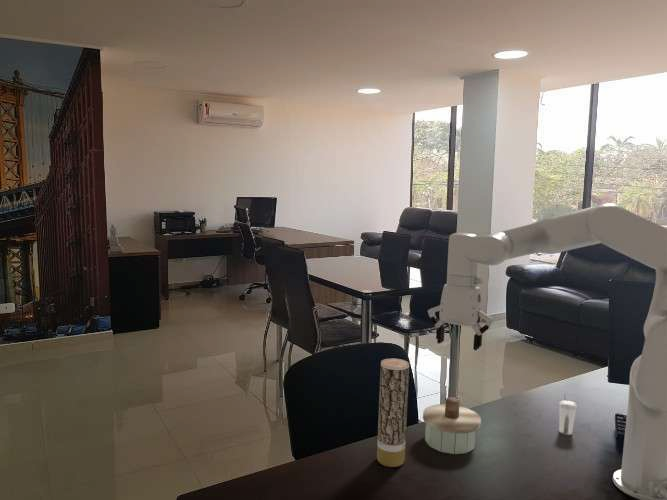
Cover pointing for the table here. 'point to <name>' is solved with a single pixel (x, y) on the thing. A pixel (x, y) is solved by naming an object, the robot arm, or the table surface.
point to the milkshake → (566, 416)
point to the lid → (452, 417)
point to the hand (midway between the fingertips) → (458, 345)
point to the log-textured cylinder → (392, 412)
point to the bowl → (449, 440)
